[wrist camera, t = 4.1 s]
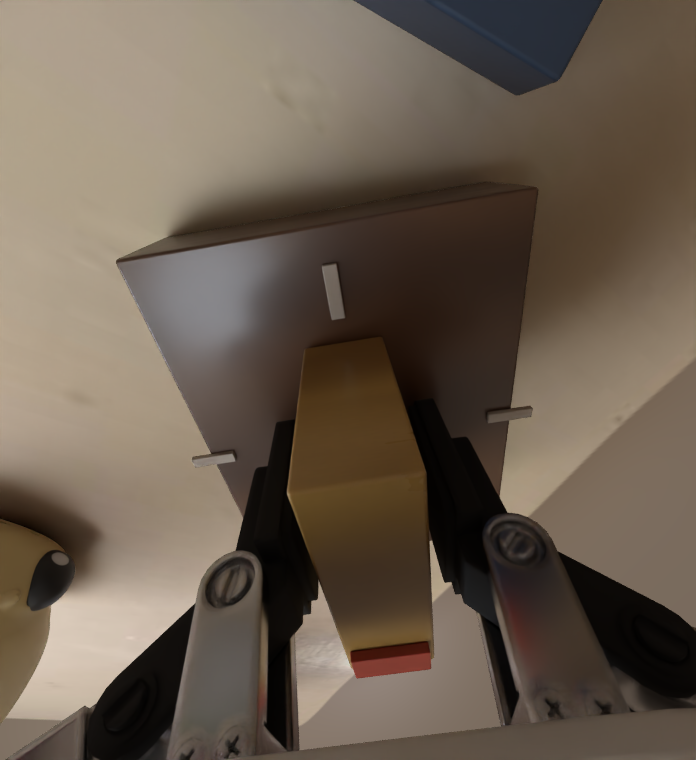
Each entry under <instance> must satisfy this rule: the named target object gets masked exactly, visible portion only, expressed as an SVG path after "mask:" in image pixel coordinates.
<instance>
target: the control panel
mask: <svg viewBox="0 0 696 760" xmlns="http://www.w3.org/2000/svg"><path fill="white" fill-rule="evenodd" d="M537 196H538V188H537V187H534V186H524V185H514V184H504V183H494V182H481V183H476V184H470V185H464V186H459V187H453V188H447V189H441V190H436V191H430V192H424V193H419V194H413V195H407V196H401V197H396V198H390V199H384V200H379V201H373V202H367V203H361V204H356V205H350V206H344V207H338V208H333V209H327V210H321V211H316V212H310V213H304V214H298V215H293V216H287V217H281V218H276V219H270V220H264V221H258V222H253V223H247V224H241V225H236V226H230V227H224V228H218V229H213V230H207V231H201V232H196V233H190V234H184V235H178V236H173V237H167V238H164V239H162V240H159V241H157V242H155V243H153V244H150V245H148V246H146V247H144V248H141V249H139V250H137V251H135V252H132V253H130V254H128V255H126V256H124V257H121V258H119V259H117V260H116V264H117V266H118V268H119V270H120V272H121V274H122V276H123V278H124V280H125V282H126V284H127V286H128V288H129V290H130V292H131V294H132V296H133V298H134V300H135V302H136V304H137V306H138V308H139V310H140V312H141V314H142V316H143V318H144V320H145V322H146V324H147V326H148V328H149V330H150V332H151V334H152V336H153V338H154V340H155V342H156V344H157V346H158V348H159V350H160V352H161V354H162V356H163V358H164V360H165V362H166V364H167V366H168V368H169V370H170V372H171V374H172V376H173V378H174V380H175V382H176V384H177V386H178V388H179V390H180V392H181V394H182V396H183V398H184V400H185V402H186V404H187V406H188V408H189V410H190V412H191V414H192V416H193V418H194V420H195V422H196V424H197V426H198V428H199V430H200V432H201V434H202V436H203V438H204V440H205V442H206V444H207V446H208V448H209V450H210V452H211V454H208V455H201V456H195V457H192V462H193V464H194V466H195V467H201V466H208V465H215V464H217V466H218V468H219V470H220V472H221V474H222V476H223V478H224V480H225V482H226V484H227V486H228V488H229V490H230V492H231V494H232V496H233V498H234V500H235V502H236V504H237V506H238V508H239V510H240V512H241V514H242V516H243V518H244V513H245V509H246V505H247V501H248V496H249V492H250V488H251V484H252V479H253V475H254V472H255V470H256V468H257V467H264V466H268V461H269V456H270V451H271V446H272V441H273V436H274V431H275V425H276V423H277V422H280V421H286V420H293V419H294V420H295V421H296V413H297V405H298V396H299V388H300V380H301V372H302V364H303V355H304V350H305V349H307V348H313V347H319V346H325V345H331V344H338V343H344V342H350V341H356V340H362V339H369V338H375V337H382V338H383V341H384V344H385V347H386V350H387V353H388V356H389V359H390V362H391V365H392V368H393V372H394V375H395V378H396V381H397V384H398V387H399V390H400V393H401V396H402V399H403V402H404V405H405V408H406V411H407V414H408V418H409V409H408V408H409V406H414V401H416V400H423V399H429V398H433V399H434V401H435V403H436V405H437V408H438V410H439V412H440V414H441V416H442V419H443V421H444V423H445V425H446V427H447V429H448V432H449V434H450V436H451V438H458V437H465V436H466V437H467V438H468V439H469V440H470V442H471V444H472V446H473V448H474V450H475V452H476V453H477V455H478V457H479V459H480V461H481V463H482V465H483V467H484V469H485V471H486V473H487V475H488V477H489V478H490V480H491V482H492V484H493V486H494V488H495V490H496V492H497V494H498V496H499V495H500V487H501V480H502V472H503V464H504V456H505V448H506V440H507V432H508V425H509V420H514V419H520V418H527V417H531V415H532V410H533V408H532V407H531V406H524V407H518V408H511V401H512V393H513V385H514V377H515V369H516V362H517V354H518V346H519V338H520V330H521V322H522V314H523V306H524V299H525V291H526V283H527V275H528V267H529V259H530V251H531V244H532V236H533V228H534V220H535V212H536V204H537ZM431 540H432V538H431V534H430V531H429V541H431Z"/></svg>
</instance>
